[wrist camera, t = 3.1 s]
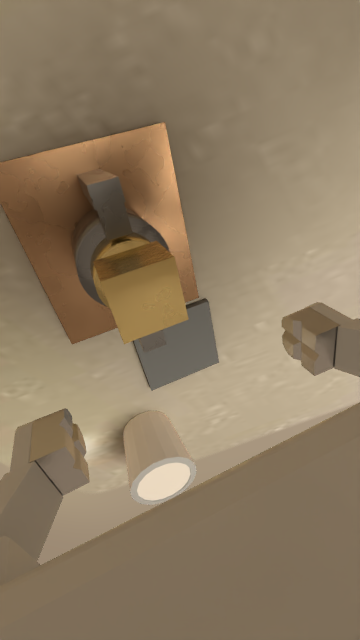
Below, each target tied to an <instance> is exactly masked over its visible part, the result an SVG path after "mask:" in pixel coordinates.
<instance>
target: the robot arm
mask: <svg viewBox="0 0 360 640" xmlns="http://www.w3.org/2000/svg"><path fill="white" fill-rule="evenodd" d="M282 327H283V328H284V329H285V332H284V334H283V336H282V341H283V345H284V348H285V350H286V351H287V353H288V354H289V355H290V356H291V357H292V358H293V359H297V360H301V364H302V366H303V367H304V368H305V369H307V370H308V371H309V372H310V373H311V374H313V375H314V376H316V375H318V374H320V373H322V372H325V371H327V370H329V369H332V368H334V367H335V369H338V370H341V371H344V372H347V373H350V374H352V375H355V376H358V377H360V319H354V320H353V319H351V318H349V317H347V316H345V315H343V314H341V313H340V312H338V311H336V310H334V309H332V308H330V307H328V306H327V305H325V304H323V303H320V302H317V303H314V304H312V305H310V306H308V307H306V308H304V309H301V310H299V311H297V312H294V313H292V314H290V315H287V316H285V317H283V319H282ZM85 454H86V446H85V442H84V438H83V435H82V433H81V431H80V429H79V427H78V425H76V424H73V423H72V416H71V414H70V412H69V411H68V409H62V410H59V411H57V412H54V413H52V414H49V415H47V416H44V417H42V418H39V419H37V420H34V421H32V422H30V423H27V424H25V425H22V426H20V427H18V428H17V429H16V431H15V437H14V445H13V452H12V460H11V467H10V472H9V473H7V474H5V475H4V476H3V478H2V479H1V480H0V640H360V403H358V404H356V405H354V406H352V407H350V408H348V409H346V410H344V411H342V412H340V413H338V414H336V415H334V416H333V417H330V418H328V419H326V420H324V421H322V422H320V423H319V424H317V425H315V426H313V427H311V428H309V429H307V430H305V431H303V432H301V433H299V434H297V435H295V436H293V437H291V438H289V439H287V440H285V441H283V442H281V443H279V444H277V445H275V446H274V447H272V448H270V449H268V450H266V451H264V452H262V453H260V454H258V455H256V456H254V457H252V458H250V459H248V460H246V461H244V462H242V463H240V464H238V465H236V466H234V467H232V468H230V469H228V470H226V471H224V472H222V473H221V474H219V475H217V476H215V477H213V478H211V479H209V480H207V481H205V482H203V483H201V484H199V485H197V486H195V487H193V488H191V489H189V490H187V491H185V492H183V493H181V494H179V495H177V496H175V497H173V498H171V499H169V500H168V501H166V502H164V503H162V504H160V505H158V506H156V507H154V508H152V509H150V510H148V511H146V512H144V513H142V514H140V515H138V516H136V517H134V518H132V519H130V520H128V521H126V522H124V523H122V524H120V525H119V526H117V527H115V528H113V529H111V530H109V531H107V532H105V533H103V534H101V535H99V536H97V537H95V538H93V539H91V540H89V541H87V542H85V543H83V544H81V545H79V546H77V547H75V548H74V549H71V550H70V551H68V552H66V553H64V554H62V555H60V556H58V557H56V558H54V559H52V560H50V561H48V562H46V563H44V564H42V565H40V564H39V563H38V562H37V560H38V558H39V555H40V553H41V551H42V548H43V546H44V543H45V541H46V538H47V535H48V533H49V531H50V529H51V526H52V523H53V521H54V519H55V516H56V514H57V511H58V509H59V507H60V504H61V502H62V499H63V495H65V494H67V493H69V492H71V491H73V490H75V489H77V488H79V487H81V486H83V485H85V484H87V483H89V482H90V481H89V471H88V464H87V462H86V460H85V459H84V456H85Z"/></svg>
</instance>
